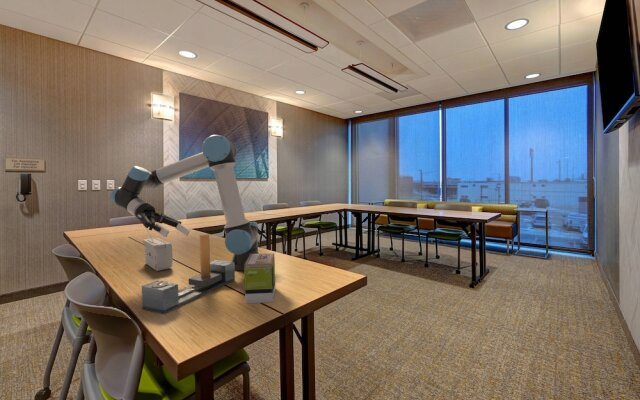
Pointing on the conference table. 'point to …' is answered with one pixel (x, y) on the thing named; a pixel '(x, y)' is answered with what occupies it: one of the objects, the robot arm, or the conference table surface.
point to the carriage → (205, 265)
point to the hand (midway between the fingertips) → (178, 233)
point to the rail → (183, 290)
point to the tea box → (259, 278)
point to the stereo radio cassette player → (158, 253)
